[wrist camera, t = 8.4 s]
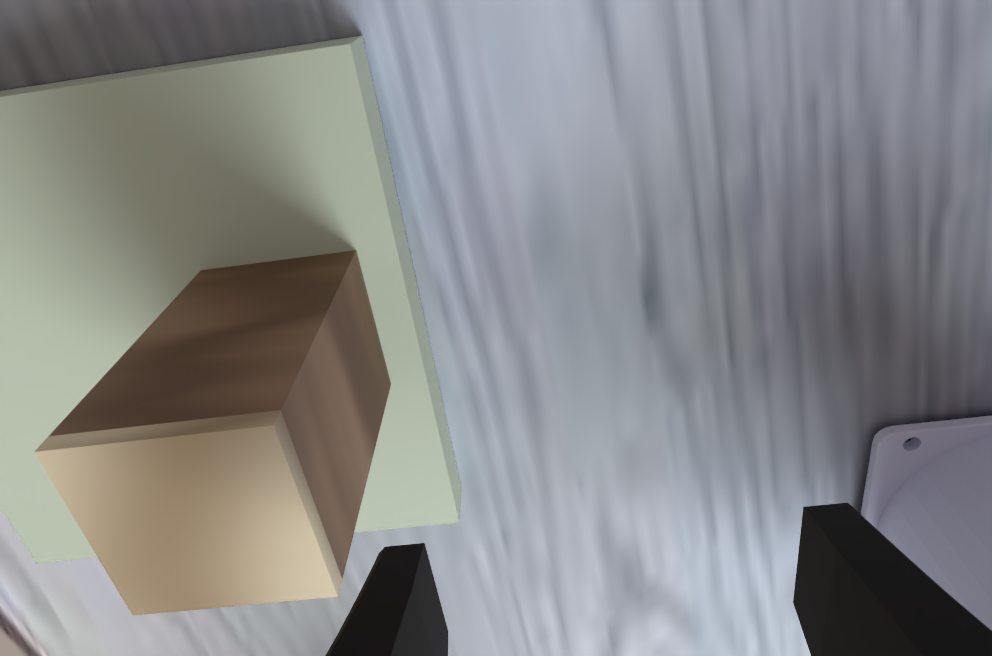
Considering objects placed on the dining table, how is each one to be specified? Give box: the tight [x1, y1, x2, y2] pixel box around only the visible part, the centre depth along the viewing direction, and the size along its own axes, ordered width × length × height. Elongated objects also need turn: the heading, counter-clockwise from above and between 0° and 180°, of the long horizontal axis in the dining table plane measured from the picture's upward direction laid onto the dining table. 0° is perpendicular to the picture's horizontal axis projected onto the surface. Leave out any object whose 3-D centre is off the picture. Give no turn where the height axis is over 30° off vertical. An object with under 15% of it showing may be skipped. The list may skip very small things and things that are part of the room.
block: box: [34, 250, 391, 615], centre depth 15 cm, size 4×4×7 cm
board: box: [0, 35, 462, 563], centre depth 19 cm, size 14×14×2 cm
